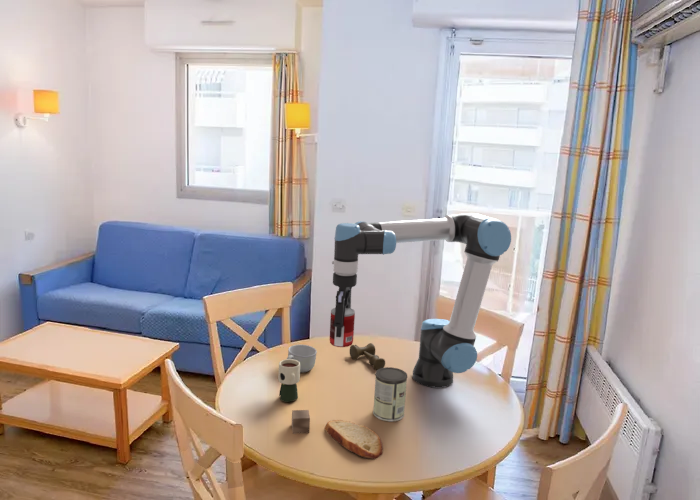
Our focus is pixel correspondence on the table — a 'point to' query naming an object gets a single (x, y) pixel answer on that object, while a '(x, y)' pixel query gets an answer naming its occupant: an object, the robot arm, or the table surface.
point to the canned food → (348, 327)
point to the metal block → (300, 421)
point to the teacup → (303, 356)
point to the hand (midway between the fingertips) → (341, 340)
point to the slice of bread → (355, 438)
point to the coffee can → (390, 394)
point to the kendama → (367, 355)
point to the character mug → (289, 379)
